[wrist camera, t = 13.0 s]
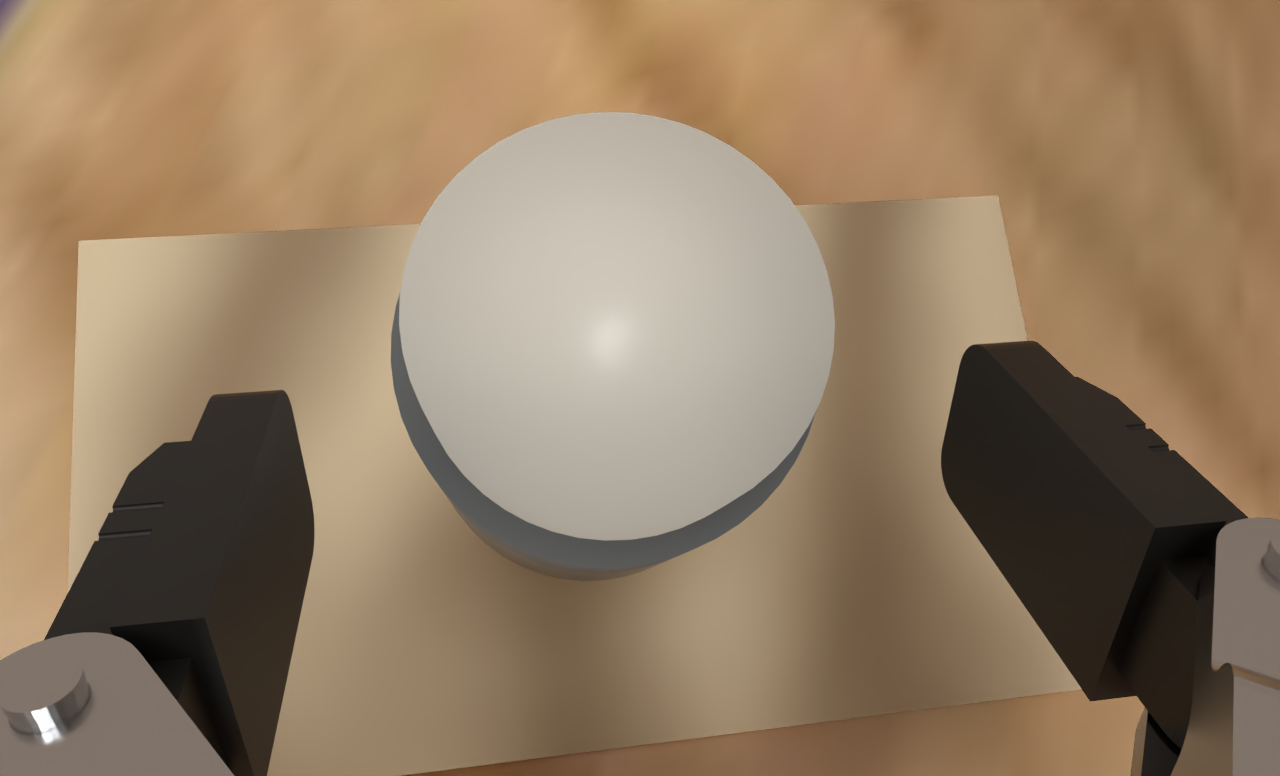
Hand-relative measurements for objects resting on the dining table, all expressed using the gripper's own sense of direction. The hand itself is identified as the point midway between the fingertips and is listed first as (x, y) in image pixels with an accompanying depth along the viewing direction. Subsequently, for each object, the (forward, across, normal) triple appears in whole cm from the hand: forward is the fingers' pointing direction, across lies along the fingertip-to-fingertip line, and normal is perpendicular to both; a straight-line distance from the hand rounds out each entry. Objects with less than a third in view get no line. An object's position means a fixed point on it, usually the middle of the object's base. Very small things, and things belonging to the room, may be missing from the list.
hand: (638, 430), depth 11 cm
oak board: (+7, 0, +6) cm, 9 cm away
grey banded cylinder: (+7, 0, +5) cm, 8 cm away
